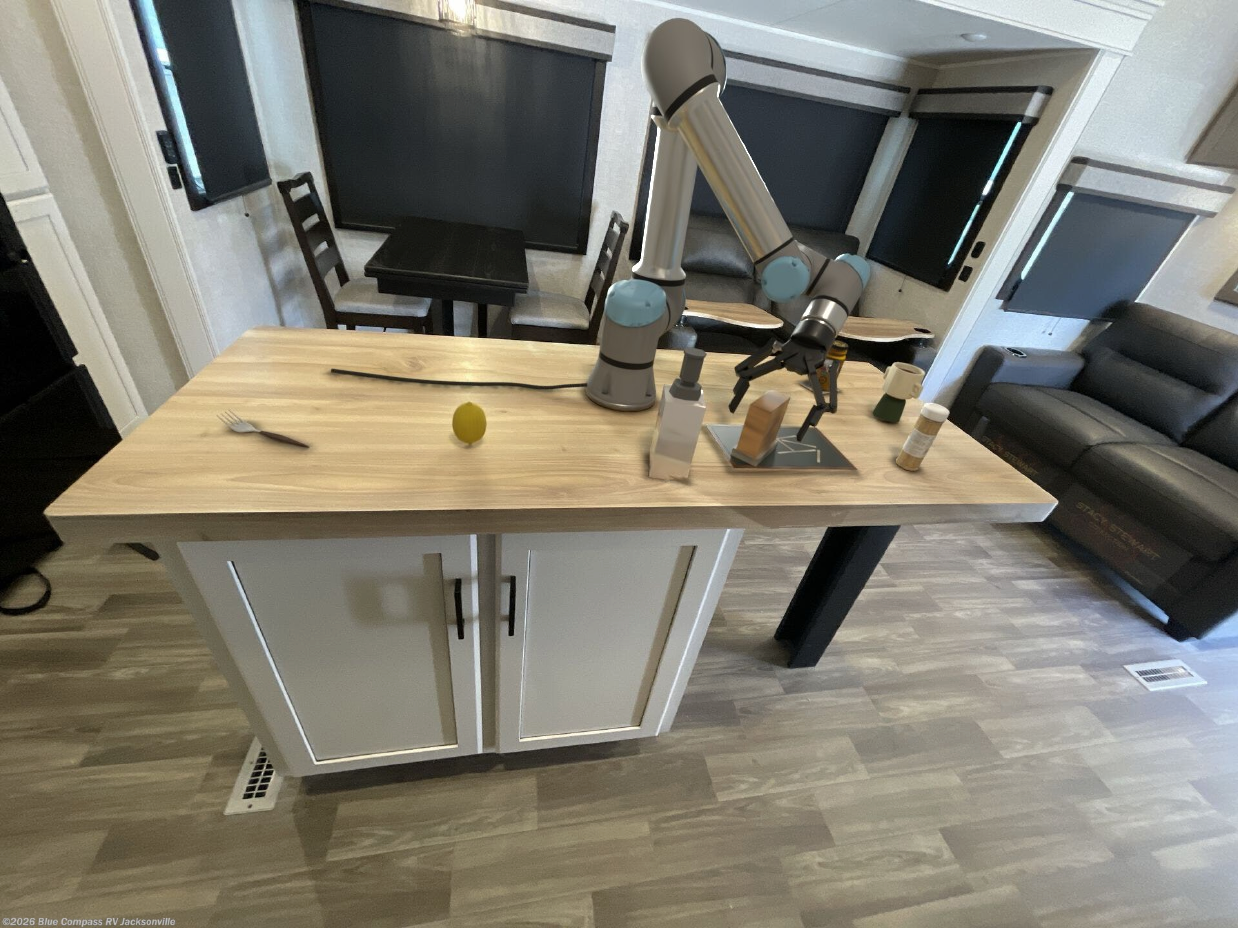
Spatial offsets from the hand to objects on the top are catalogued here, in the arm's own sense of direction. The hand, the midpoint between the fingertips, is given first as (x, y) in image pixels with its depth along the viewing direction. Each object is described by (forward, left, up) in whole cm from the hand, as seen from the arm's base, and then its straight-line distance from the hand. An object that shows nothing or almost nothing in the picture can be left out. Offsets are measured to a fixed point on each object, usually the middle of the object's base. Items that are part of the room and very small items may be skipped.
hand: (763, 424), depth 98 cm
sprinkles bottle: (+34, -2, -7) cm, 34 cm away
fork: (-83, +4, -7) cm, 84 cm away
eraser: (0, 0, -6) cm, 6 cm away
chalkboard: (+7, +3, -7) cm, 10 cm away
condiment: (+34, +34, -7) cm, 48 cm away
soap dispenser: (-18, -3, -7) cm, 20 cm away
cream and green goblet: (+43, +18, -7) cm, 47 cm away
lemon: (-52, +3, -7) cm, 53 cm away
